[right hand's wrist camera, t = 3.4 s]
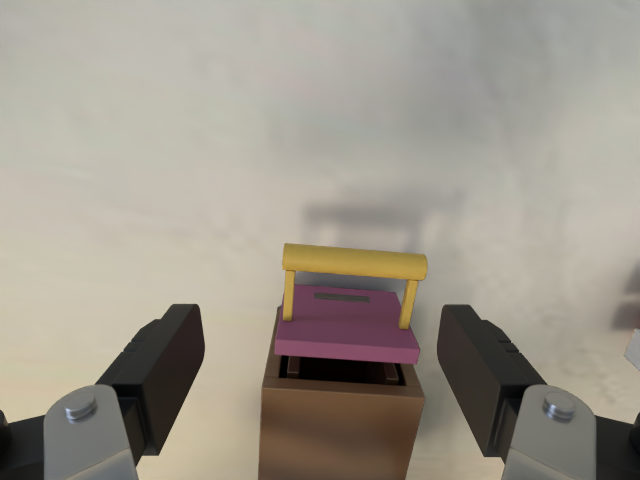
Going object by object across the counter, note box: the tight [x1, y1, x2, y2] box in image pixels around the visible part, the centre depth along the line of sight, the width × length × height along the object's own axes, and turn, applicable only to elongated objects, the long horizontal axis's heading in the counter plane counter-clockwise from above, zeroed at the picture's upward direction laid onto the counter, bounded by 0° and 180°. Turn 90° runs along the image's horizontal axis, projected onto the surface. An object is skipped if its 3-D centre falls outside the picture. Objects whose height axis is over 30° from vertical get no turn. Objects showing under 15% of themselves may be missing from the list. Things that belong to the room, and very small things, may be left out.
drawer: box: [275, 243, 427, 386], centre depth 27 cm, size 21×9×8 cm, turn 175°
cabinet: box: [258, 307, 425, 480], centre depth 29 cm, size 17×10×9 cm, turn 175°
